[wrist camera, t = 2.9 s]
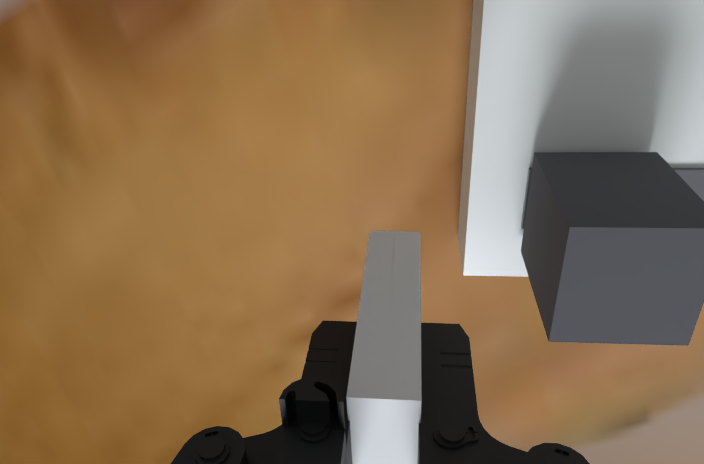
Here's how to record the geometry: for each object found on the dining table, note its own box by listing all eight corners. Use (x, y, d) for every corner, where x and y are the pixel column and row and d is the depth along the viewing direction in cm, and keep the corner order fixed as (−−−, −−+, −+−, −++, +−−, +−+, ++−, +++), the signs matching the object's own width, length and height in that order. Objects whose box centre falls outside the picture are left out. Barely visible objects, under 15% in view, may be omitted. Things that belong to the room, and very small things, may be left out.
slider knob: (520, 251, 21) (549, 341, 17) (534, 152, 19) (569, 227, 15) (631, 252, 21) (688, 345, 17) (657, 152, 19) (729, 228, 15)
